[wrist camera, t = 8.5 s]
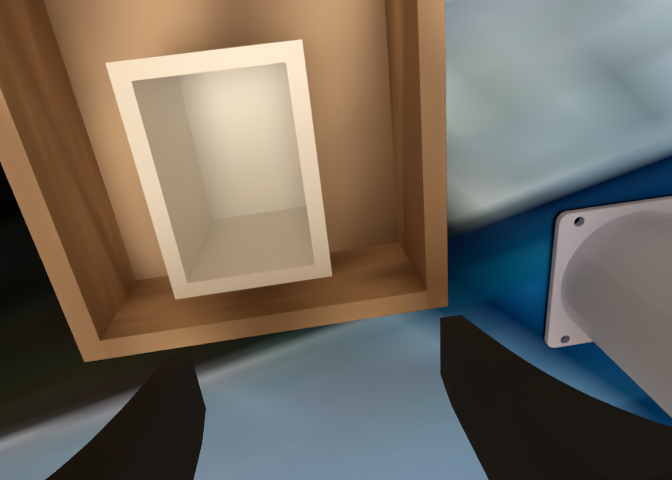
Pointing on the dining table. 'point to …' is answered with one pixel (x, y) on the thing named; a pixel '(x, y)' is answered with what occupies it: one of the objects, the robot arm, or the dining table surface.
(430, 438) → the dining table surface
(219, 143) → the small crate
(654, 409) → the dining table surface
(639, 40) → the dining table surface
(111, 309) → the big crate
